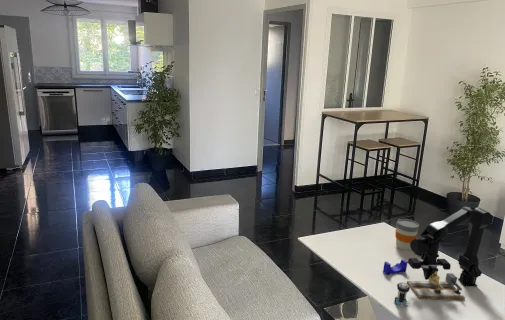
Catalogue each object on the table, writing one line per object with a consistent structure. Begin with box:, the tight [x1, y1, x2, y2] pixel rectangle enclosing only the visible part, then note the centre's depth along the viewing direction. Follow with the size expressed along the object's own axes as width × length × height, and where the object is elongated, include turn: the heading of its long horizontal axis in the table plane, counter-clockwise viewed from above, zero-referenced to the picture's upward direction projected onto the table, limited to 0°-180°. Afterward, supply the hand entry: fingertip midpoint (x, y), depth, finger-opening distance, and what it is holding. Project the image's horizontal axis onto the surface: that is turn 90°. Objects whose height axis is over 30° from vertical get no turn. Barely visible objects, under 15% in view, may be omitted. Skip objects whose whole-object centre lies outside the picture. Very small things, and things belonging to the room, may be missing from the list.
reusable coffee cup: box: [395, 218, 420, 251], centre depth 228 cm, size 13×13×15 cm
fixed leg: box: [444, 272, 463, 293], centre depth 185 cm, size 3×10×5 cm, turn 3°
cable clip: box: [382, 258, 408, 276], centre depth 201 cm, size 12×4×6 cm, turn 108°
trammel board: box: [406, 280, 466, 301], centre depth 185 cm, size 22×13×3 cm, turn 93°
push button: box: [394, 282, 411, 307], centre depth 173 cm, size 7×5×10 cm
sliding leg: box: [427, 270, 444, 292], centre depth 184 cm, size 3×10×7 cm, turn 3°
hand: (425, 279), depth 187 cm, fingers closed
